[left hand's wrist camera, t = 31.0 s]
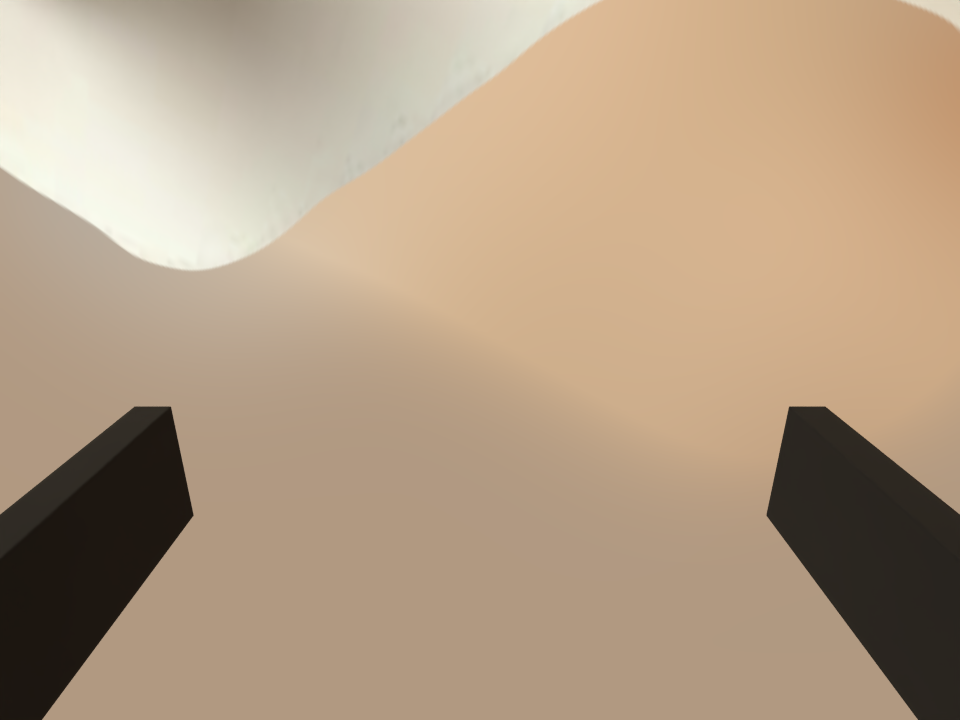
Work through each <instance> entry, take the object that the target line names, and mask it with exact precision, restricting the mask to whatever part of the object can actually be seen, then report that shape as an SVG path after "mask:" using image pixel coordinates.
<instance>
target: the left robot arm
mask: <svg viewBox="0 0 960 720" xmlns="http://www.w3.org/2000/svg"><path fill="white" fill-rule="evenodd" d="M192 517H193V511H192V506H191V501H190V496H189V492H188V487H187V482H186V477H185V472H184V467H183V463H182V458H181V453H180V448H179V443H178V439H177V434H176V429H175V425H174V420H173V415H172V410H171V407H134V408H133V409H131V410H130V411H129V412H127V413H126V414H125V415H124V416H122V417H121V418H120V419H119V420H117V421H116V422H115V423H114V424H113V425H111V426H110V427H109V428H108V429H106V430H105V431H104V432H103V433H101V434H100V435H99V436H98V437H96V438H95V439H94V440H93V441H91V442H90V443H89V444H88V445H86V446H85V447H84V448H83V449H81V450H80V451H79V452H78V453H76V454H75V455H74V456H73V457H71V458H70V459H69V460H68V461H66V462H65V463H64V464H63V465H61V466H60V467H59V468H58V469H57V470H55V471H54V472H53V473H51V474H50V475H49V476H48V477H46V478H45V479H44V480H43V481H42V482H40V483H39V484H38V485H37V486H35V487H34V488H33V489H32V490H30V491H29V492H28V493H27V494H25V495H24V496H23V497H22V498H20V499H19V500H18V501H17V502H15V503H14V504H13V505H12V506H10V507H9V508H8V509H7V510H5V511H4V512H3V513H2V514H0V720H42V719H43V718H44V716H45V715H46V713H47V712H48V711H49V709H50V708H51V707H52V705H53V704H54V703H55V701H56V700H57V699H58V697H59V696H60V695H61V693H62V692H63V691H64V689H65V688H66V686H67V685H68V684H69V682H70V681H71V680H72V678H73V677H74V676H75V674H76V673H77V672H78V670H79V669H80V668H81V666H82V665H83V664H84V662H85V661H86V660H87V658H88V657H89V656H90V654H91V653H92V651H93V650H94V649H95V647H96V646H97V645H98V643H99V642H100V641H101V639H102V638H103V637H104V635H105V634H106V633H107V631H108V630H109V629H110V627H111V626H112V625H113V623H114V622H115V621H116V619H117V618H118V616H119V615H120V614H121V612H122V611H123V610H124V608H125V607H126V606H127V604H128V603H129V602H130V600H131V599H132V598H133V596H134V595H135V594H136V592H137V591H138V590H139V588H140V587H141V585H142V584H143V583H144V581H145V580H146V579H147V577H148V576H149V575H150V573H151V572H152V571H153V569H154V568H155V567H156V565H157V564H158V563H159V561H160V560H161V559H162V557H163V556H164V554H165V553H166V552H167V550H168V549H169V548H170V546H171V545H172V544H173V542H174V541H175V540H176V538H177V537H178V536H179V534H180V533H181V532H182V530H183V529H184V528H185V526H186V525H187V523H188V522H189V521H190V519H191V518H192ZM767 517H768V518H769V519H770V521H771V522H772V524H773V525H774V526H775V528H776V529H777V530H778V532H779V533H780V534H781V536H782V537H783V538H784V540H785V541H786V542H787V544H788V545H789V546H790V548H791V549H792V550H793V552H794V553H795V555H796V556H797V557H798V559H799V560H800V561H801V563H802V564H803V565H804V567H805V568H806V569H807V571H808V572H809V573H810V575H811V576H812V577H813V579H814V580H815V581H816V583H817V584H818V585H819V587H820V588H821V589H822V591H823V592H824V594H825V595H826V596H827V598H828V599H829V600H830V602H831V603H832V604H833V606H834V607H835V608H836V610H837V611H838V612H839V614H840V615H841V616H842V618H843V619H844V621H845V622H846V623H847V625H848V626H849V627H850V629H851V630H852V631H853V633H854V634H855V635H856V637H857V638H858V639H859V641H860V642H861V643H862V645H863V646H864V647H865V649H866V650H867V651H868V653H869V654H870V655H871V657H872V658H873V660H874V661H875V662H876V664H877V665H878V666H879V668H880V669H881V670H882V672H883V673H884V674H885V676H886V677H887V678H888V680H889V681H890V682H891V684H892V685H893V687H894V688H895V689H896V691H897V692H898V693H899V695H900V696H901V697H902V699H903V700H904V701H905V703H906V704H907V705H908V707H909V708H910V709H911V711H912V712H913V713H914V715H915V716H916V718H917V719H918V720H960V514H958V513H957V512H956V511H955V510H953V509H952V508H951V507H950V506H948V505H947V504H946V503H945V502H943V501H942V500H941V499H940V498H938V497H937V496H936V495H935V494H933V493H932V492H931V491H930V490H928V489H927V488H926V487H925V486H923V485H922V484H921V483H920V482H919V481H917V480H916V479H915V478H914V477H912V476H911V475H910V474H908V473H907V472H906V471H905V470H904V469H902V468H901V467H900V466H899V465H897V464H896V463H895V462H894V461H892V460H891V459H890V458H889V457H887V456H886V455H885V454H884V453H882V452H881V451H880V450H879V449H877V448H876V447H875V446H874V445H872V444H871V443H870V442H869V441H867V440H866V439H865V438H864V437H862V436H861V435H860V434H859V433H857V432H856V431H855V430H854V429H852V428H851V427H850V426H849V425H847V424H846V423H845V422H844V421H843V420H841V419H840V418H839V417H837V416H836V415H835V414H834V413H832V412H831V411H830V410H829V409H828V408H826V407H789V410H788V415H787V420H786V424H785V429H784V434H783V439H782V443H781V448H780V453H779V458H778V463H777V468H776V472H775V477H774V482H773V487H772V491H771V496H770V501H769V506H768V510H767Z"/></svg>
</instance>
